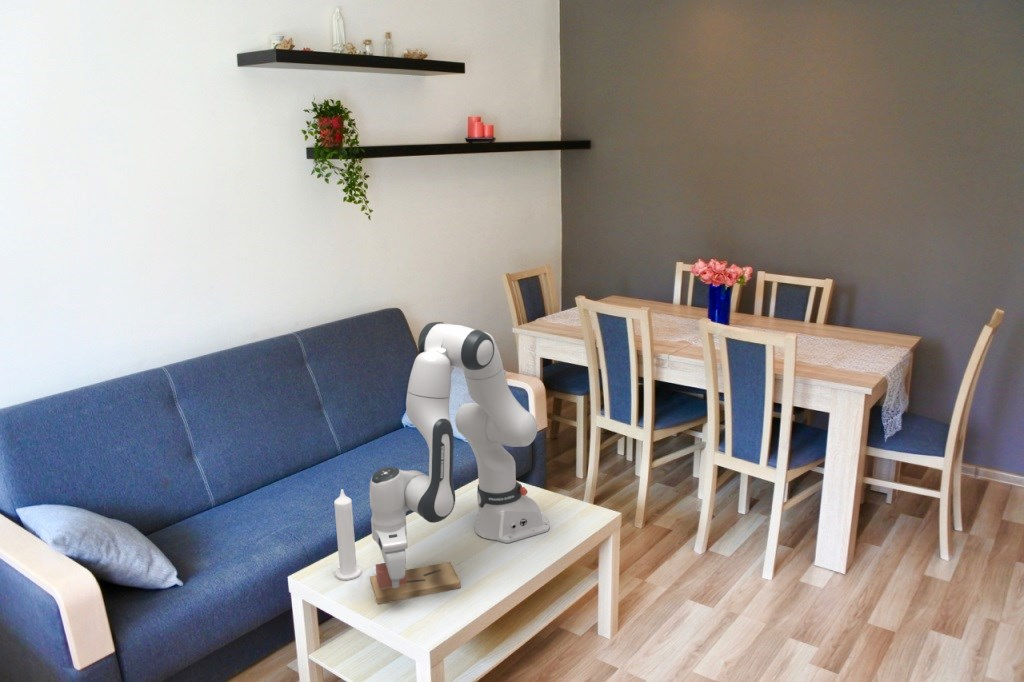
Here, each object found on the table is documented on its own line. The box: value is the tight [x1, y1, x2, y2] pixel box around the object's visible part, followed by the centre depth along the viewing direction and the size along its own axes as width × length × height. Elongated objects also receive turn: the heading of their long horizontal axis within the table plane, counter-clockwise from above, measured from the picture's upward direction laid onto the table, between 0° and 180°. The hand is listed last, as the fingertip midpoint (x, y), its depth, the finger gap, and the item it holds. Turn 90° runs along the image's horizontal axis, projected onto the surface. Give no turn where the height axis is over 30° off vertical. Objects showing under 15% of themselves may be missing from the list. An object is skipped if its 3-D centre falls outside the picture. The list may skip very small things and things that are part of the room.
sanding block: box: [375, 562, 406, 590], centre depth 212 cm, size 7×4×5 cm, turn 108°
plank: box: [369, 561, 462, 605], centre depth 215 cm, size 22×11×2 cm, turn 108°
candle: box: [333, 488, 363, 581], centre depth 218 cm, size 7×7×25 cm
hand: (392, 577), depth 212 cm, fingers open, 8 cm apart
